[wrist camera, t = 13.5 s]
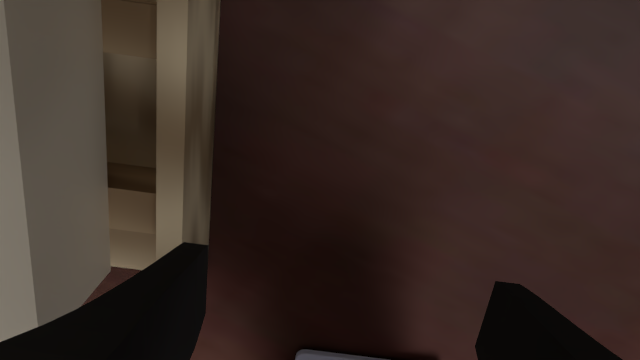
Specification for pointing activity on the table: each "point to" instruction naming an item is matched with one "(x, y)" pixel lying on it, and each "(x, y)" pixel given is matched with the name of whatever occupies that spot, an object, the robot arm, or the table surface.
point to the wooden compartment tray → (159, 124)
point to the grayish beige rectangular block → (51, 160)
